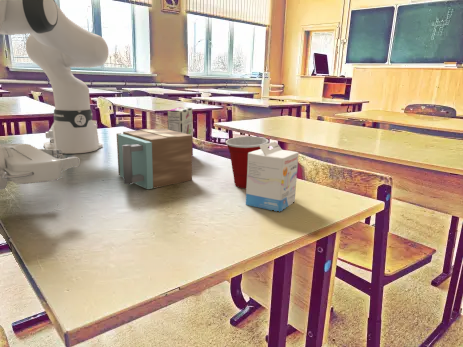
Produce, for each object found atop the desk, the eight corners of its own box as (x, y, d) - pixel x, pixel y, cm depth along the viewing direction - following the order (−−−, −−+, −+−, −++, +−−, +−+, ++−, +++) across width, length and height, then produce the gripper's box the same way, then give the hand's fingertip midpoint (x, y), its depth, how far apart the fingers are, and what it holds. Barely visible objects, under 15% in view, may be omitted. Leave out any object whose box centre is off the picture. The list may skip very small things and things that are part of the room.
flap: (100, 177, 94) (98, 135, 91) (122, 174, 98) (120, 133, 95) (130, 193, 83) (127, 145, 80) (153, 188, 87) (151, 142, 84)
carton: (125, 175, 98) (123, 131, 94) (163, 169, 106) (162, 127, 102) (152, 188, 88) (151, 138, 84) (192, 179, 96) (192, 134, 92)
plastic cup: (216, 182, 94) (217, 137, 91) (249, 177, 100) (251, 134, 97) (240, 194, 85) (242, 144, 82) (274, 187, 91) (277, 141, 88)
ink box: (279, 213, 75) (284, 150, 71) (244, 204, 79) (247, 144, 75) (295, 201, 82) (300, 143, 78) (262, 194, 86) (265, 139, 82)
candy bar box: (179, 154, 125) (179, 106, 120) (193, 155, 124) (193, 107, 120) (167, 161, 114) (166, 109, 110) (182, 163, 113) (182, 110, 109)
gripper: (1, 159, 56) (88, 149, 66) (-23, 140, 71) (51, 135, 80) (6, 197, 58) (91, 183, 67) (-19, 172, 72) (54, 163, 82)
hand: (69, 157), depth 74 cm, fingers open, 8 cm apart
